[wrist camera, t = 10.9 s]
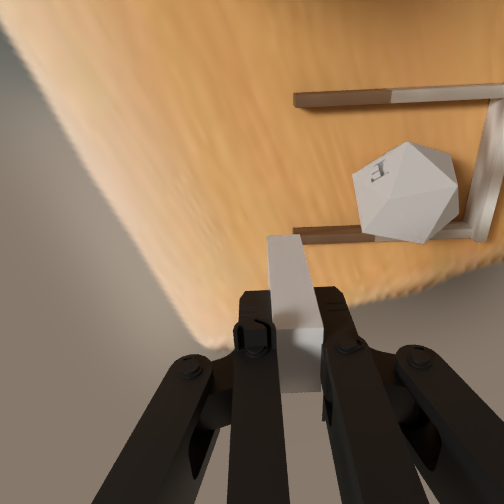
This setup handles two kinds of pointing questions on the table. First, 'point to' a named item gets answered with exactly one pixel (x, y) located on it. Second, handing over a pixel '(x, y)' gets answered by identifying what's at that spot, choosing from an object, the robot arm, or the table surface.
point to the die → (407, 193)
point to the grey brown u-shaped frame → (486, 168)
